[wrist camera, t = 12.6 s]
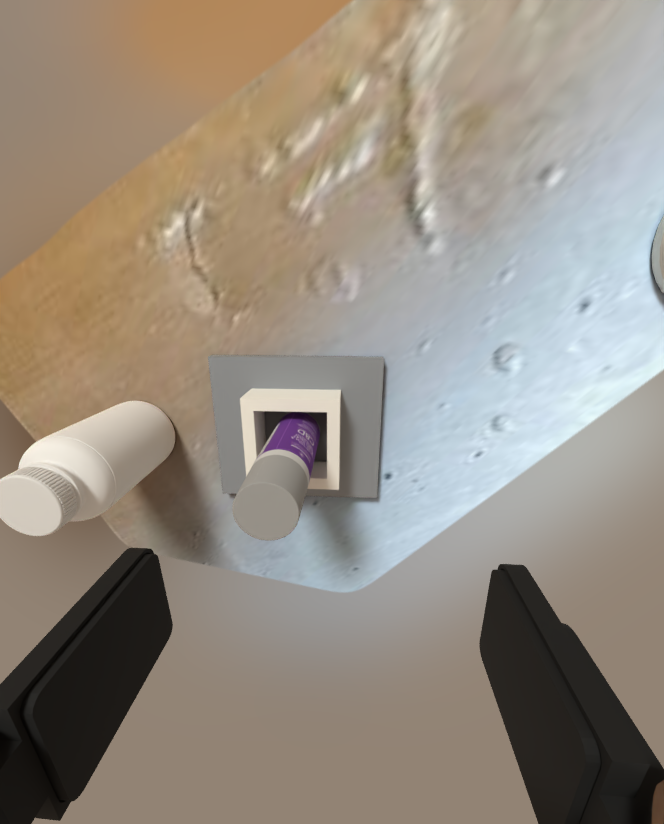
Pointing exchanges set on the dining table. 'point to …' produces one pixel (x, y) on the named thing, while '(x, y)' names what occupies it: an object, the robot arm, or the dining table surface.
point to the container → (278, 479)
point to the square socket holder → (301, 392)
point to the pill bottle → (85, 467)
